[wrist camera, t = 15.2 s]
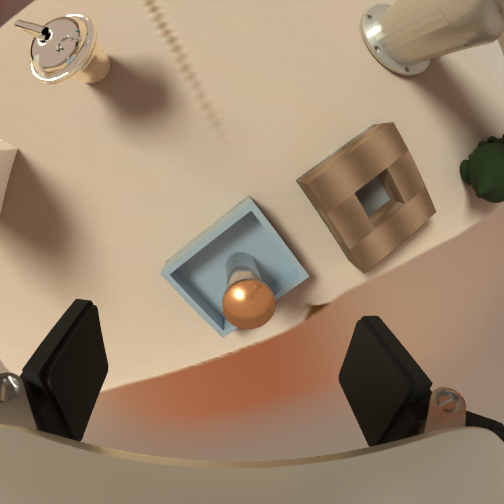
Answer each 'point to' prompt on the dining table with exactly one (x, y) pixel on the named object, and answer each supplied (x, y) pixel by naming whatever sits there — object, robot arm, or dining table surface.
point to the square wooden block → (369, 195)
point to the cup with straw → (66, 50)
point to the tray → (216, 254)
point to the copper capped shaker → (246, 293)
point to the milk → (5, 166)
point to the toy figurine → (486, 170)
